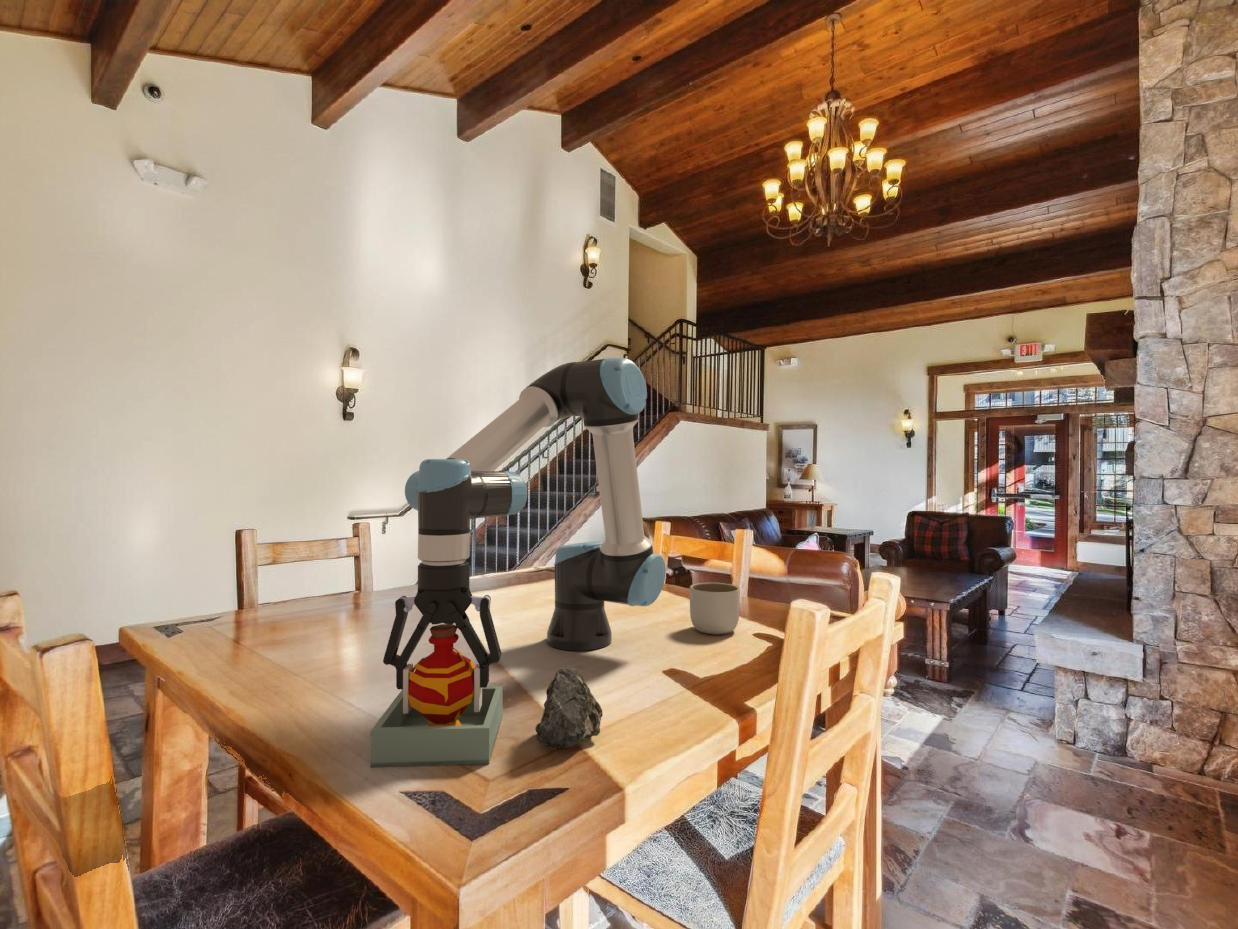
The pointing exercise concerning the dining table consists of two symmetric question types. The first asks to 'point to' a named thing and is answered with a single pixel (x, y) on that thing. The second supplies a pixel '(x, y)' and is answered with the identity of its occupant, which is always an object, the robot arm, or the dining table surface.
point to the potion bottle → (442, 680)
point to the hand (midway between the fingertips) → (443, 709)
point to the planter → (714, 607)
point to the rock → (568, 711)
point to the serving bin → (437, 735)
